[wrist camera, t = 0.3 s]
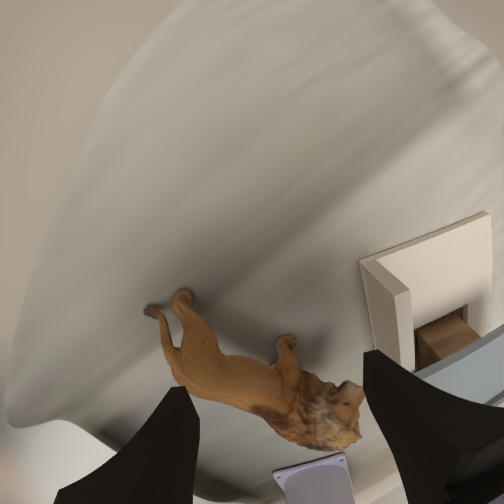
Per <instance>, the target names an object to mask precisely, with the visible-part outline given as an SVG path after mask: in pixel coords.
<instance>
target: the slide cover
mask: <svg viewBox="0 0 504 504" xmlns="http://www.w3.org/2000/svg"><path fill="white" fill-rule="evenodd" d="M413 374H414V375H415V376H417V377H419V378H420V379H422V380H424V381H425V382H427V383H429V384H431V385H433V386H435V387H437V388H439V389H441V390H443V391H445V392H448V393H450V394H452V395H455V396H457V397H460V398H463V399H466V400H469V401H473V402H476V403H480V404H485V405H489V406H495V407H496V406H498V405H499V404H501V403H502V402H504V324H503V325H501V326H500V327H498V328H496V329H495V330H493V331H492V332H490V333H488V334H487V335H485V336H483V337H482V338H480V339H478V340H477V341H475V342H473V343H472V344H470V345H468V346H466V347H464V348H463V349H461V350H459V351H457V352H455V353H453V354H452V355H450V356H448V357H446V358H444V359H442V360H440V361H438V362H436V363H434V364H432V365H430V366H428V367H426V368H424V369H422V370H420V371H418V372H416V373H413Z"/></svg>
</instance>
